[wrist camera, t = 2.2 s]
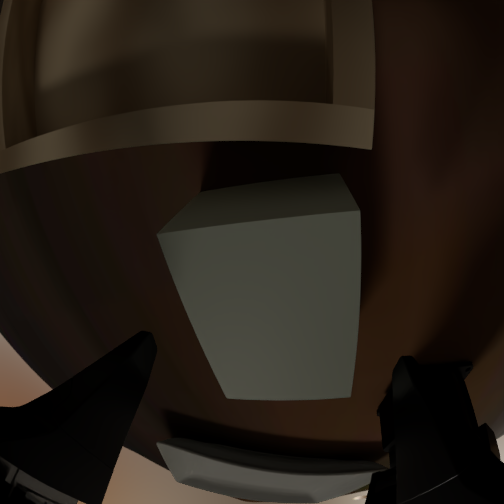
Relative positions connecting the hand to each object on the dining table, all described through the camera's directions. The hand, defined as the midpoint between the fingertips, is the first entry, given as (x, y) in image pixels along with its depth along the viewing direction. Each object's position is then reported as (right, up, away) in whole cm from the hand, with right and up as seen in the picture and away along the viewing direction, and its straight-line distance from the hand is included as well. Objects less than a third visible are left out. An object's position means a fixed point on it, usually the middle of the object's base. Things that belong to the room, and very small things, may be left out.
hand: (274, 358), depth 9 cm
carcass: (-5, +14, -1) cm, 15 cm away
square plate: (+1, -28, +23) cm, 36 cm away
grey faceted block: (+1, +3, +5) cm, 5 cm away
